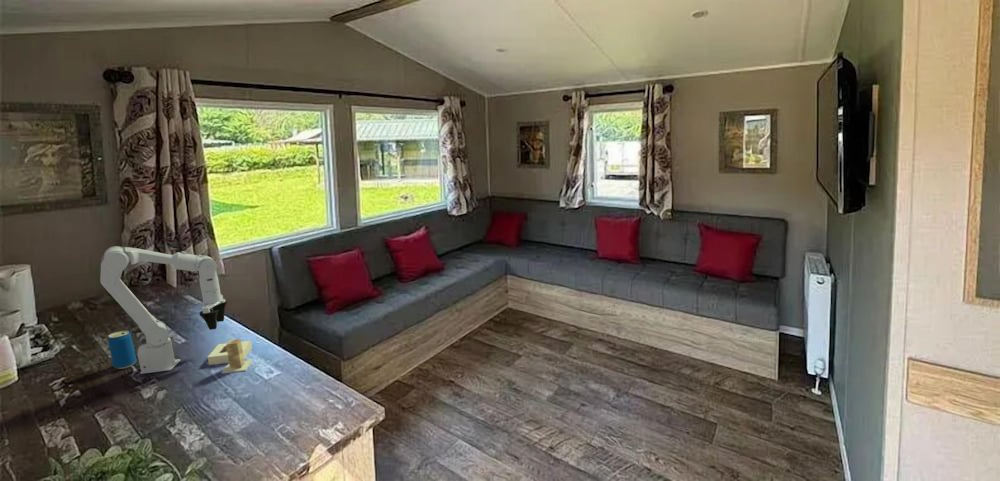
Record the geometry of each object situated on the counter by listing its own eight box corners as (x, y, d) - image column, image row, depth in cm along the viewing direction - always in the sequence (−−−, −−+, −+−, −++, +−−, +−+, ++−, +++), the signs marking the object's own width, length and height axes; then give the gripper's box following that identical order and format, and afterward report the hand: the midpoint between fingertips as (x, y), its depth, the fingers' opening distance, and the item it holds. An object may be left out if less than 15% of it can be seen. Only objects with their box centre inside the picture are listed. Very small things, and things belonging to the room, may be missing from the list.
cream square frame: (208, 365, 168) (207, 357, 168) (220, 351, 179) (218, 344, 178) (243, 361, 170) (241, 353, 170) (252, 347, 181) (250, 340, 180)
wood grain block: (230, 369, 164) (225, 344, 162) (233, 364, 167) (229, 340, 165) (241, 367, 164) (237, 343, 162) (244, 363, 168) (240, 338, 166)
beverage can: (141, 362, 172) (134, 331, 170) (122, 371, 166) (115, 338, 164) (128, 360, 174) (121, 329, 172) (109, 368, 168) (102, 336, 166)
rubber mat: (221, 373, 162) (221, 372, 161) (229, 363, 169) (229, 362, 169) (246, 370, 163) (245, 369, 163) (252, 360, 170) (252, 359, 170)
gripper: (215, 294, 167) (221, 331, 170) (229, 282, 181) (235, 316, 184) (193, 296, 166) (199, 333, 169) (208, 284, 180) (214, 318, 183)
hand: (216, 325), depth 177 cm, fingers open, 7 cm apart
